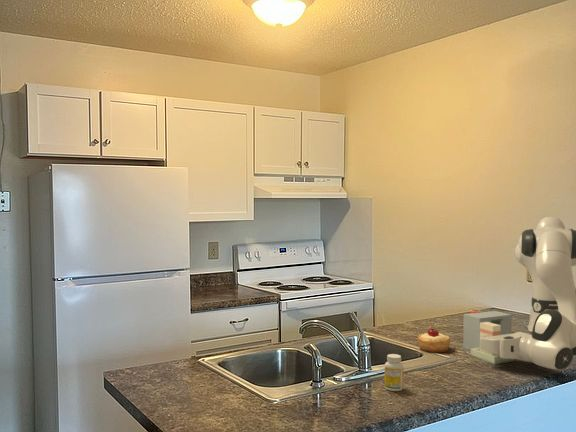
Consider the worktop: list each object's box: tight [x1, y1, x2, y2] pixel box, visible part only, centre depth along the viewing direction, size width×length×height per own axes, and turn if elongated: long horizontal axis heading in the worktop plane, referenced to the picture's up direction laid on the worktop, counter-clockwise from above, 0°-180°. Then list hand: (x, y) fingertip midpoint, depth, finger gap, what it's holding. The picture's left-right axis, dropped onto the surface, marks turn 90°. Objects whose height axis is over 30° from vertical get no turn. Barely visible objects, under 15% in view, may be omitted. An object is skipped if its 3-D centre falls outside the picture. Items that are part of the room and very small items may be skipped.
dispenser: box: [462, 310, 513, 351], centre depth 203 cm, size 16×8×13 cm, turn 115°
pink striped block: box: [480, 322, 501, 355], centre depth 190 cm, size 4×6×10 cm, turn 25°
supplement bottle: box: [384, 353, 404, 392], centre depth 158 cm, size 5×5×10 cm
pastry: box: [417, 325, 451, 353], centre depth 201 cm, size 12×12×9 cm
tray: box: [470, 348, 515, 365], centre depth 189 cm, size 9×11×2 cm
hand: (490, 336), depth 190 cm, fingers closed on pink striped block, 4 cm apart
